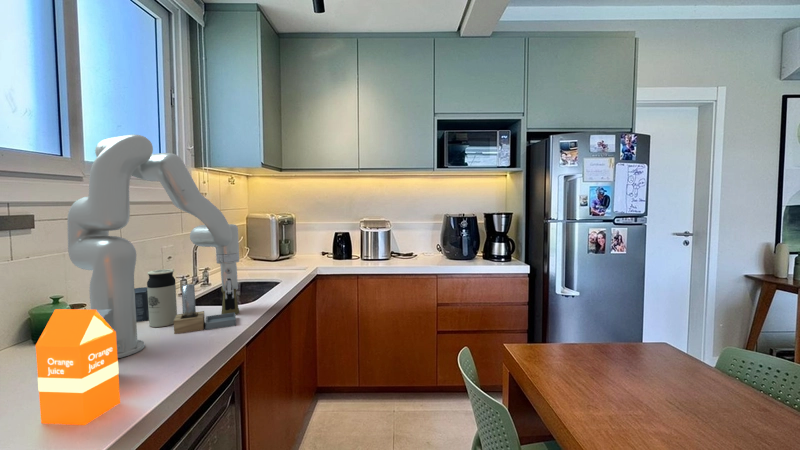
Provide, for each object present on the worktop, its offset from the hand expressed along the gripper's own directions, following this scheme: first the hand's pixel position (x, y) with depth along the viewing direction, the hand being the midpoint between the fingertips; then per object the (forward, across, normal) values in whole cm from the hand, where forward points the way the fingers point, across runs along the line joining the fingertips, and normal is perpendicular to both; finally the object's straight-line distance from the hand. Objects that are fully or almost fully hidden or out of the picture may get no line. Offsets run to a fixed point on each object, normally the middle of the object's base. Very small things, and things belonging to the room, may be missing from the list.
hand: (230, 307), depth 135 cm
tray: (+2, -12, +3) cm, 12 cm away
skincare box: (+3, -45, +28) cm, 53 cm away
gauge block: (+2, -12, +12) cm, 17 cm away
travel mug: (+2, -2, +20) cm, 21 cm away
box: (+3, +9, +28) cm, 30 cm away
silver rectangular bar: (+2, -12, +12) cm, 17 cm away
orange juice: (+3, -59, +26) cm, 65 cm away
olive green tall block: (+2, 0, 0) cm, 2 cm away
